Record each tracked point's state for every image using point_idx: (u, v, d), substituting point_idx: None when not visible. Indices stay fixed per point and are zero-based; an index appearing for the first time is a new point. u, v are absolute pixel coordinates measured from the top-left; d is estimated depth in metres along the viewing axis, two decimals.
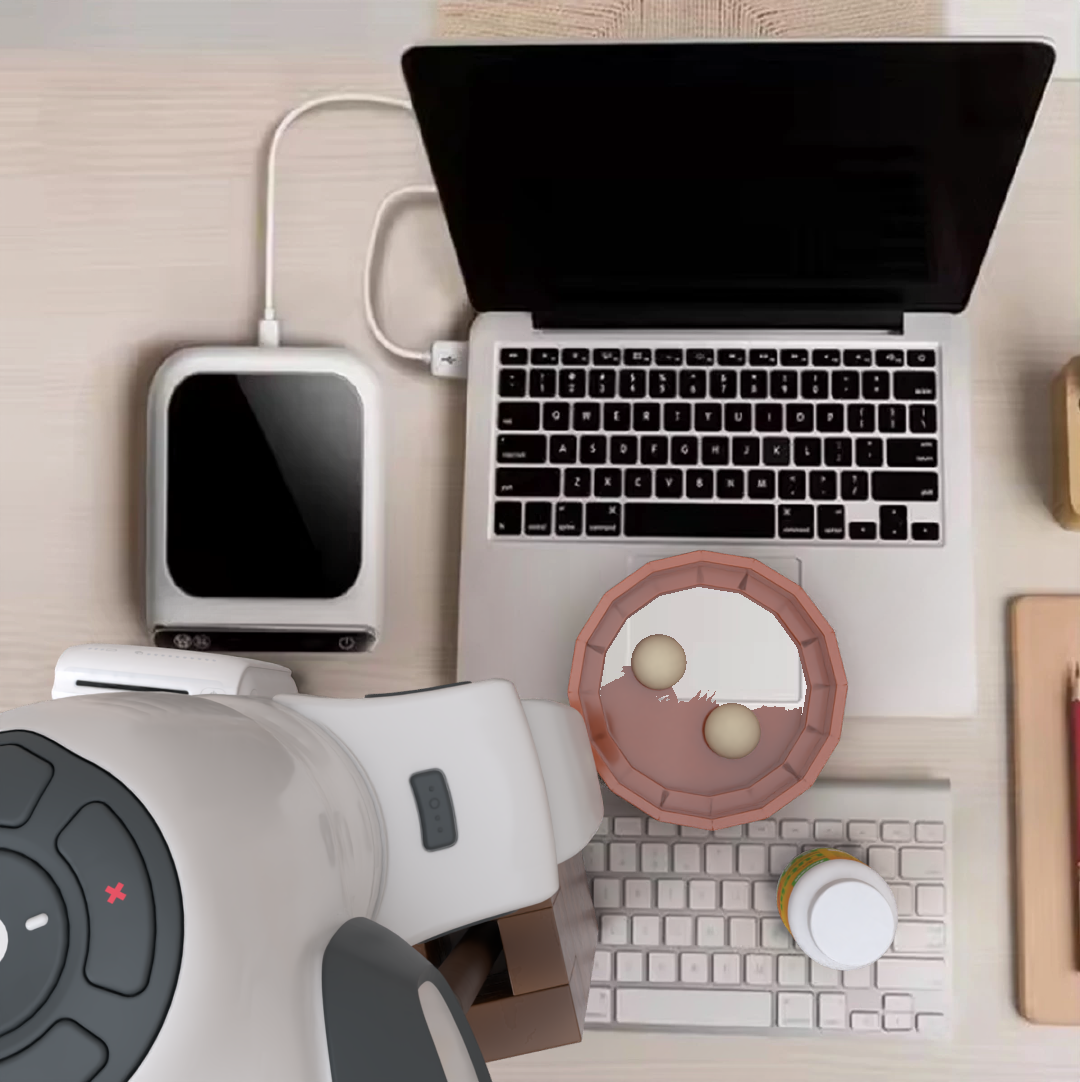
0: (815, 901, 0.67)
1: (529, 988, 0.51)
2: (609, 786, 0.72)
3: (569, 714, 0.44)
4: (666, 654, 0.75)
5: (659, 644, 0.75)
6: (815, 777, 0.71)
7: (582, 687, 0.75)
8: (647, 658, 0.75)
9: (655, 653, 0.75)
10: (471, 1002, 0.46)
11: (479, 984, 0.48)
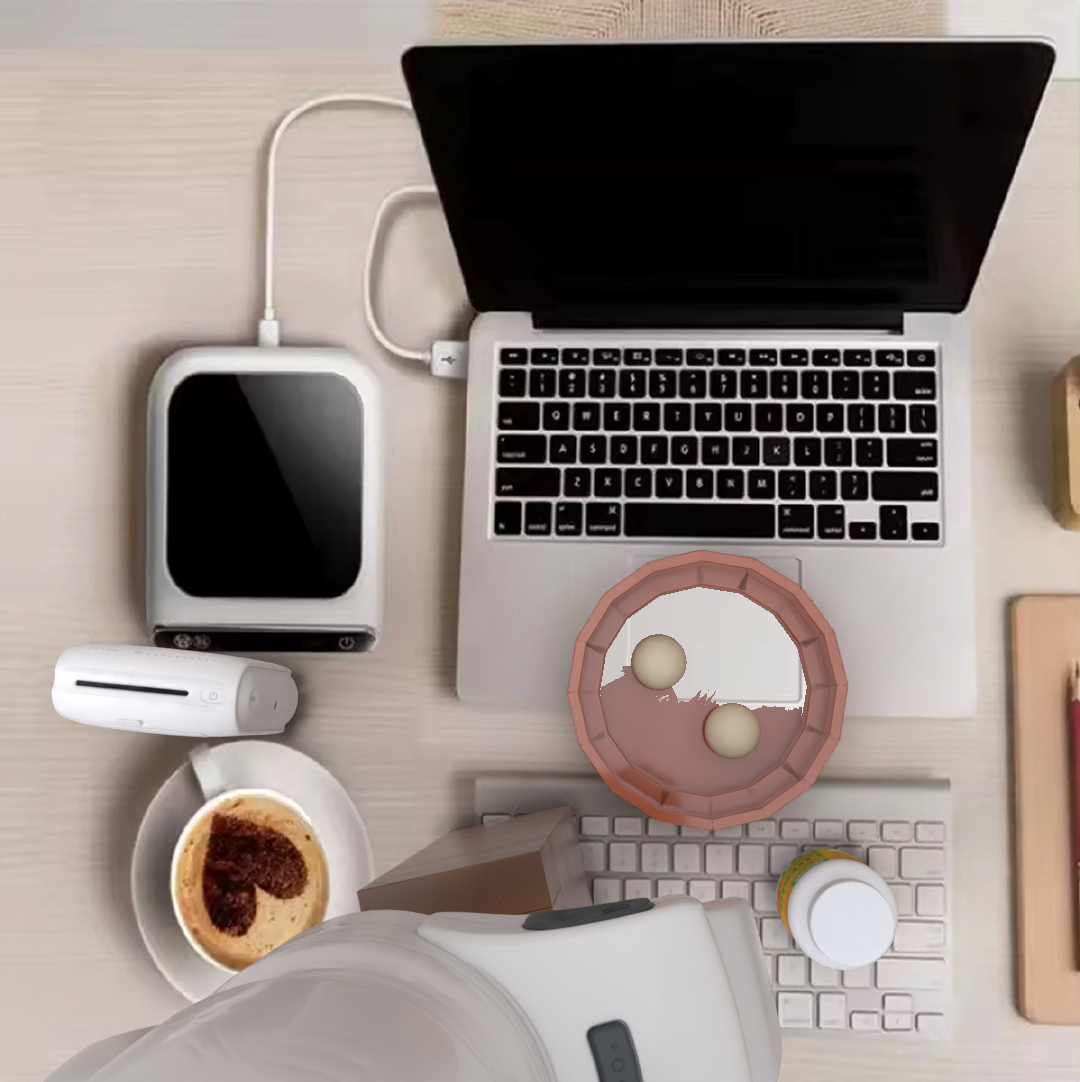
0: (815, 901, 0.67)
1: None
2: (609, 786, 0.72)
3: (748, 916, 0.37)
4: (666, 654, 0.75)
5: (659, 644, 0.75)
6: (815, 777, 0.71)
7: (582, 687, 0.75)
8: (647, 658, 0.75)
9: (655, 653, 0.75)
10: None
11: None
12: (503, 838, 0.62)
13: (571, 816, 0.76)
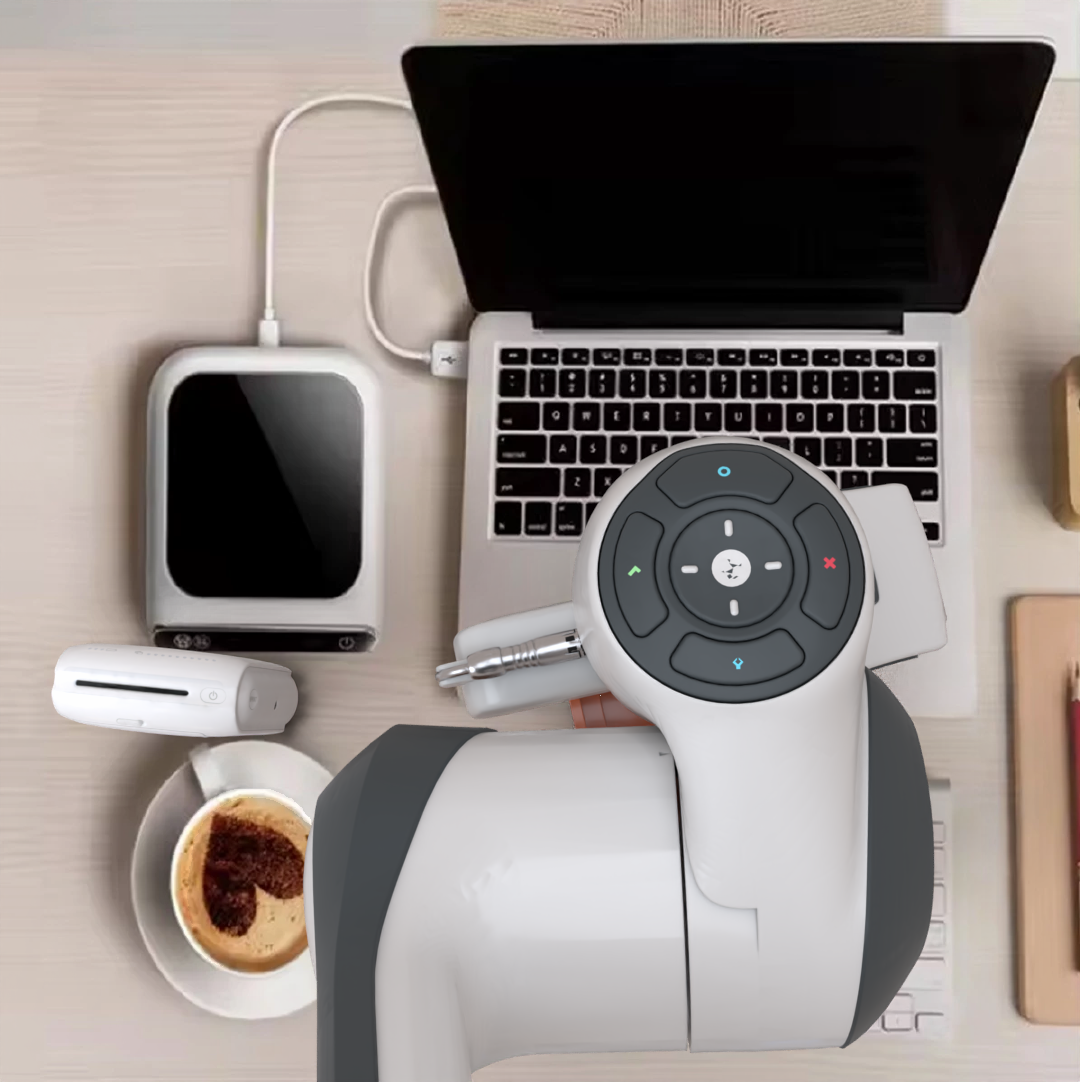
0: None
1: None
2: None
3: None
4: None
5: None
6: None
7: None
8: None
9: None
10: None
11: None
12: None
13: None
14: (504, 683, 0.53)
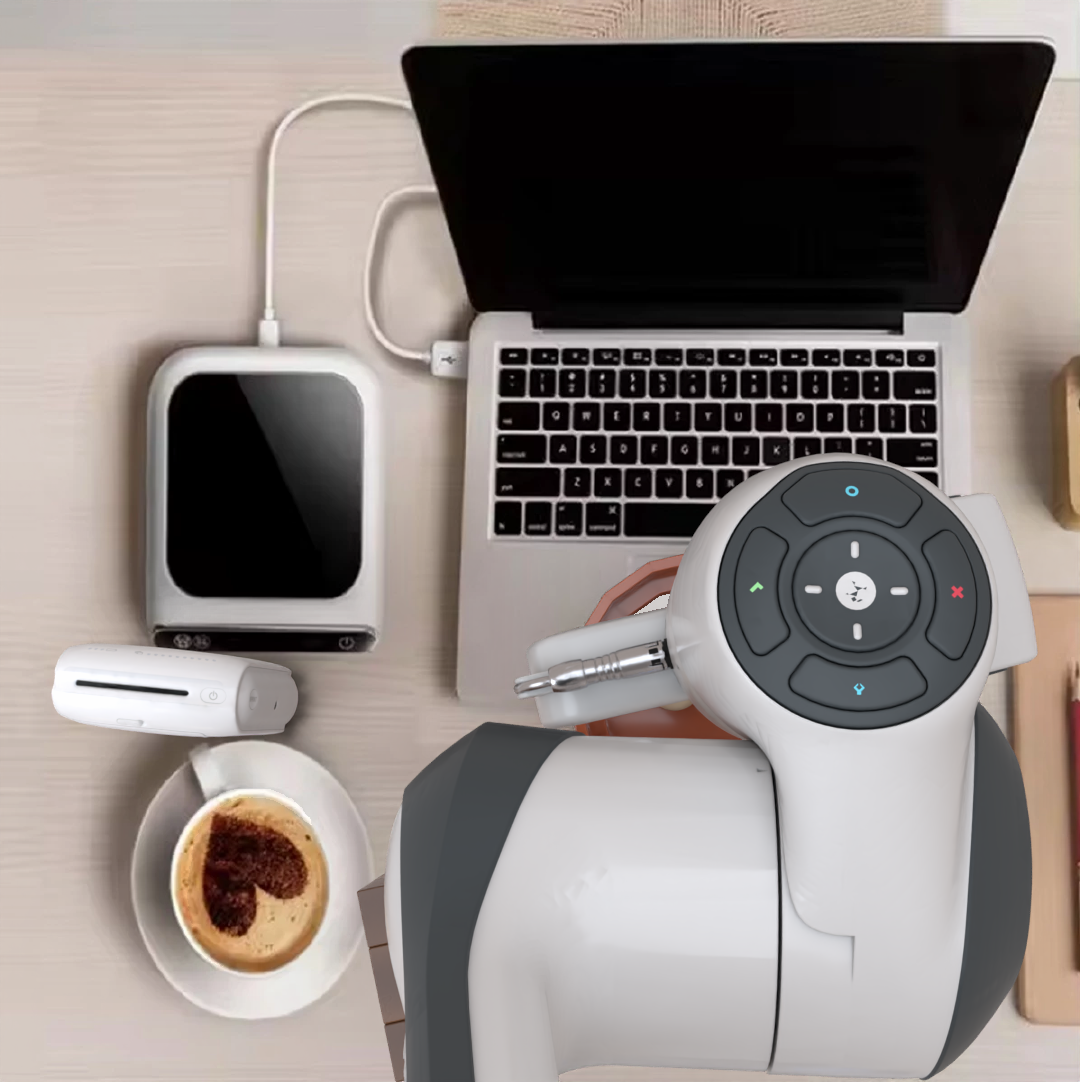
0: None
1: None
2: None
3: None
4: None
5: None
6: None
7: None
8: None
9: None
10: None
11: None
12: None
13: None
14: (584, 696, 0.53)
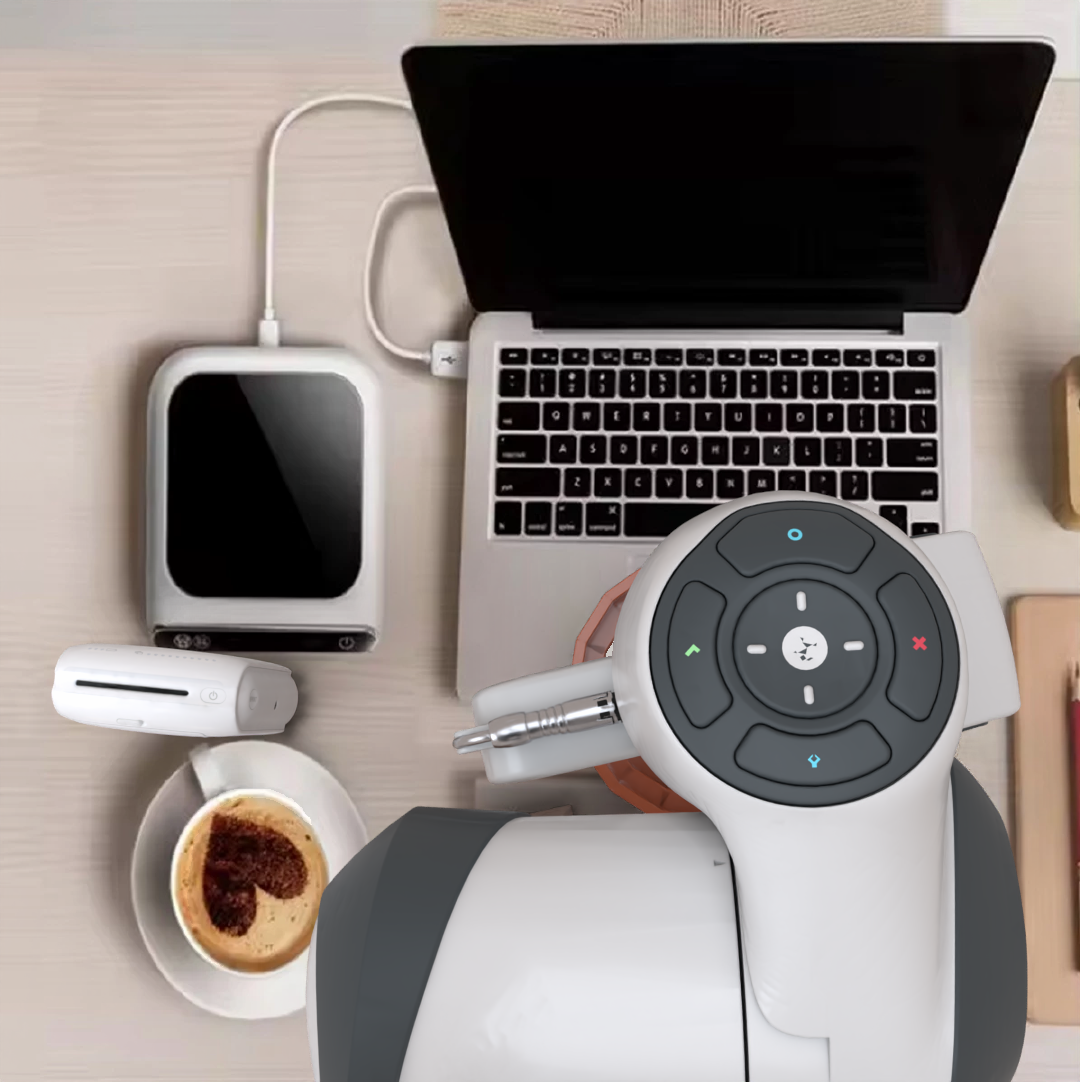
0: None
1: None
2: (609, 786, 0.72)
3: None
4: None
5: None
6: None
7: None
8: None
9: None
10: None
11: None
12: None
13: None
14: (529, 751, 0.49)
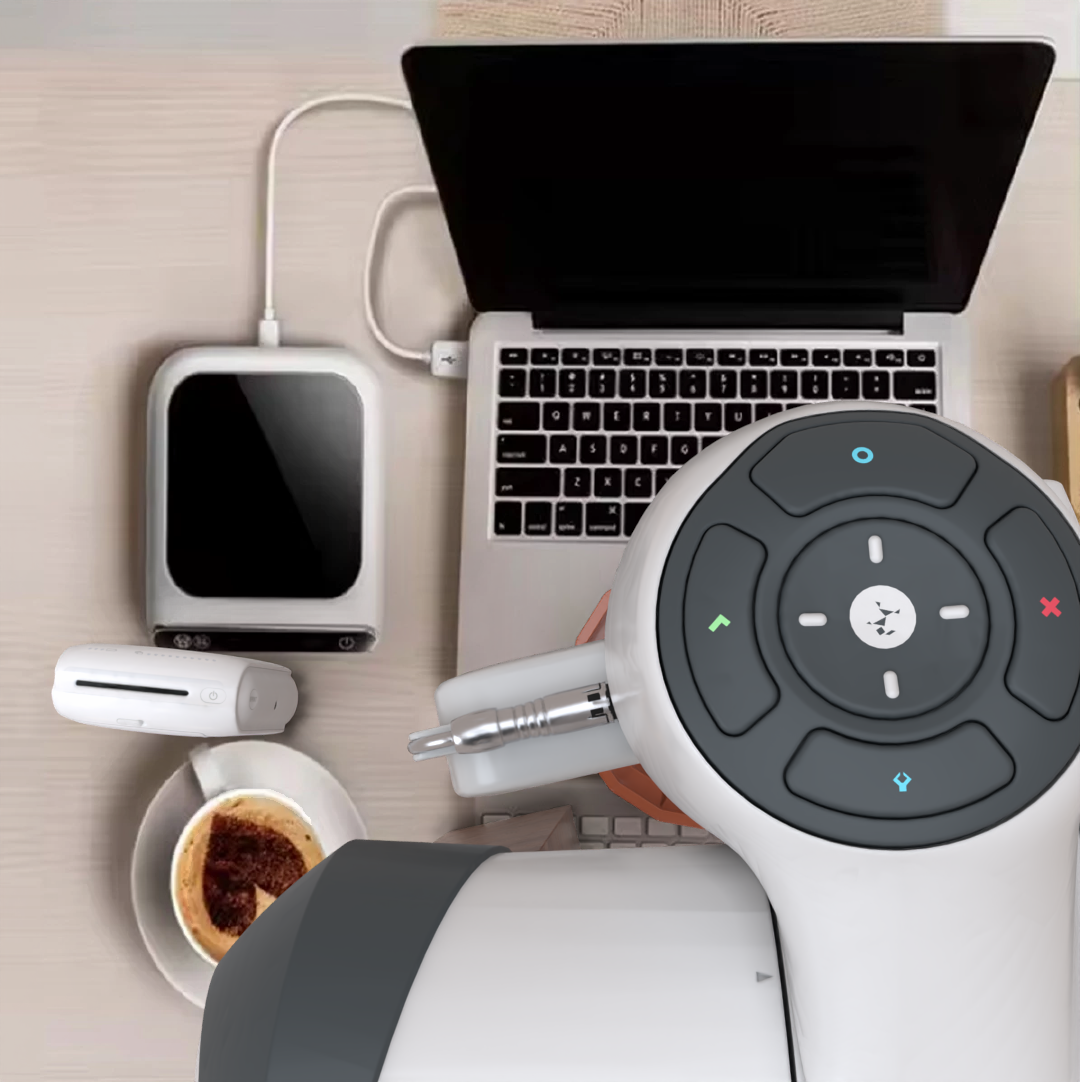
0: None
1: None
2: (609, 786, 0.72)
3: None
4: None
5: None
6: None
7: None
8: None
9: None
10: None
11: None
12: (503, 838, 0.62)
13: (571, 816, 0.76)
14: (502, 757, 0.39)
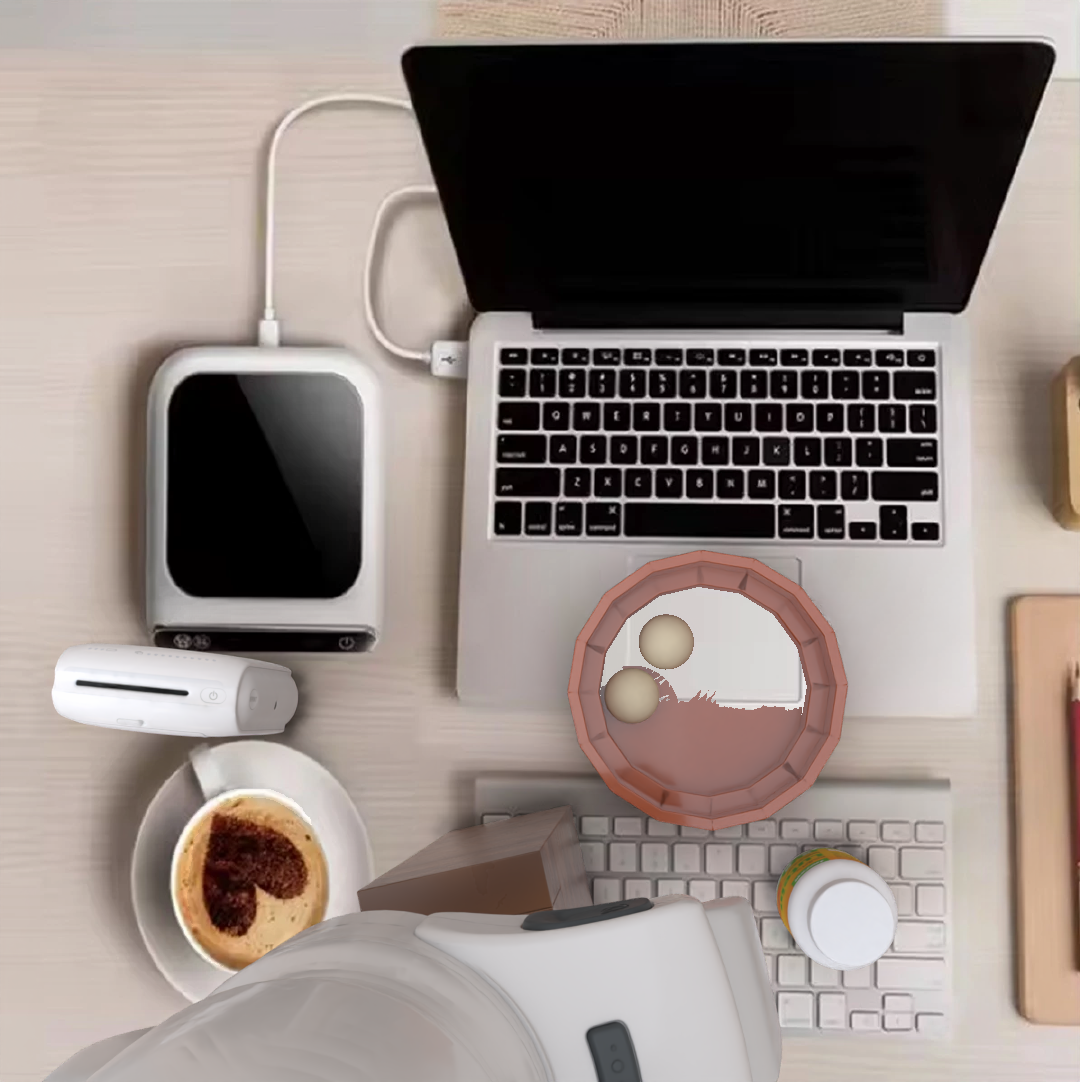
0: (815, 901, 0.67)
1: None
2: (609, 786, 0.72)
3: (748, 916, 0.37)
4: (626, 669, 0.75)
5: (617, 672, 0.76)
6: (815, 777, 0.71)
7: (582, 687, 0.75)
8: (614, 681, 0.75)
9: (617, 674, 0.75)
10: None
11: None
12: (503, 838, 0.62)
13: (571, 816, 0.76)
14: None
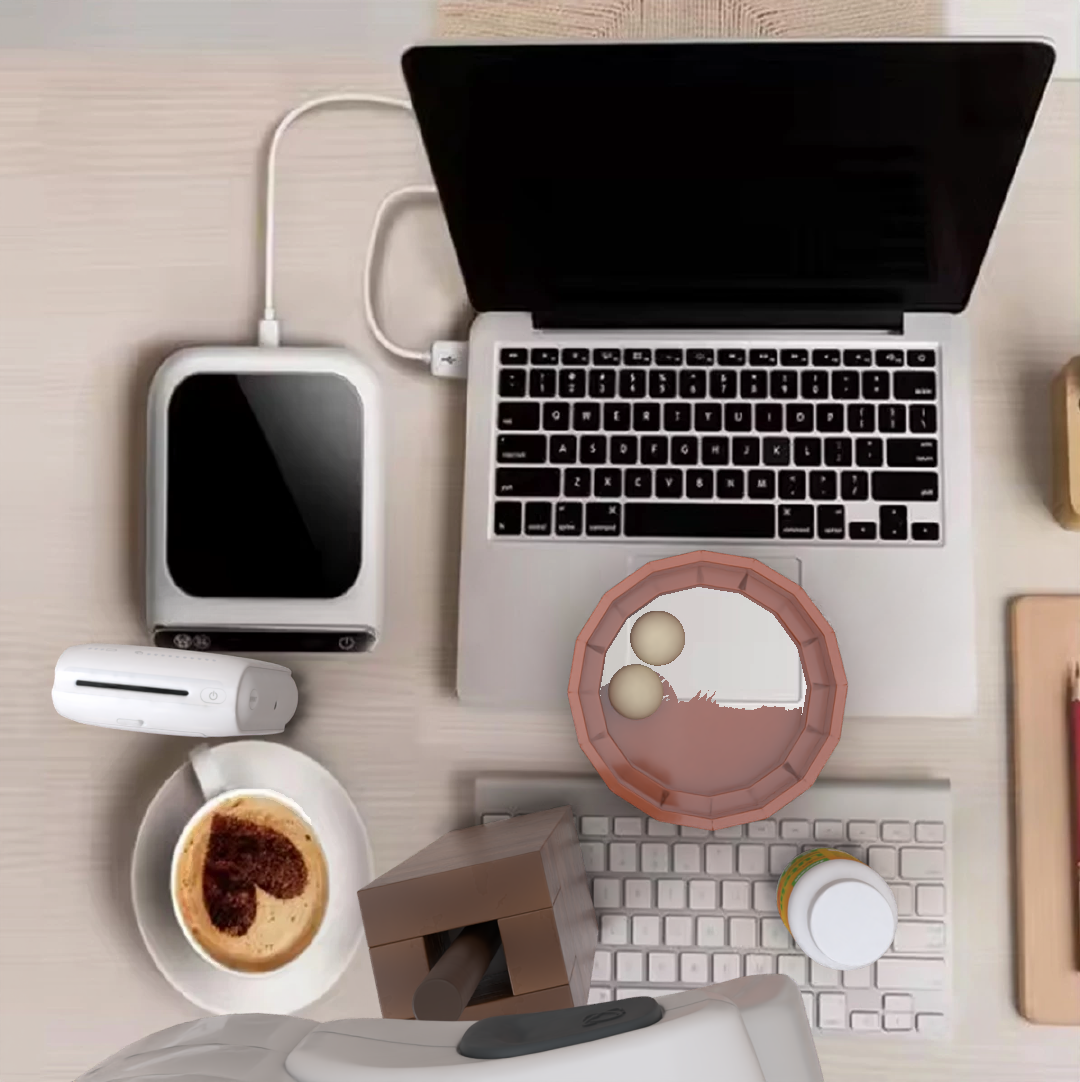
0: (815, 901, 0.67)
1: (529, 988, 0.51)
2: (609, 786, 0.72)
3: (799, 1010, 0.25)
4: (631, 665, 0.76)
5: (621, 668, 0.76)
6: (815, 777, 0.71)
7: (582, 687, 0.75)
8: (620, 675, 0.75)
9: (622, 669, 0.75)
10: (470, 994, 0.46)
11: (478, 977, 0.48)
12: (503, 838, 0.62)
13: (571, 816, 0.76)
14: None
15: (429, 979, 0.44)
